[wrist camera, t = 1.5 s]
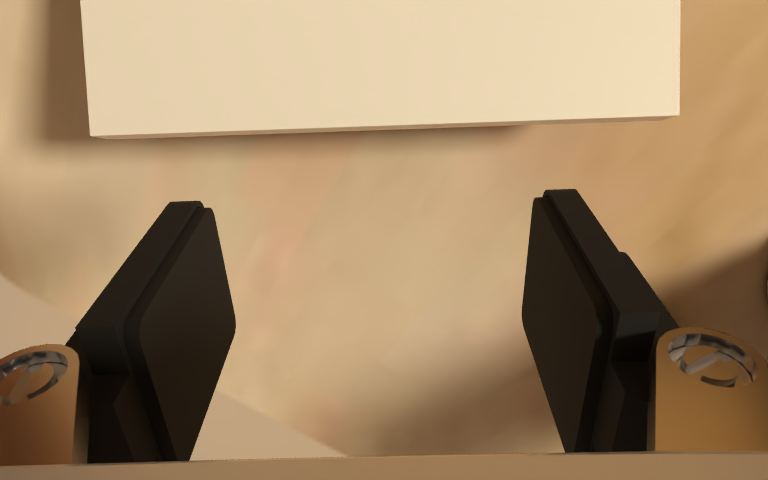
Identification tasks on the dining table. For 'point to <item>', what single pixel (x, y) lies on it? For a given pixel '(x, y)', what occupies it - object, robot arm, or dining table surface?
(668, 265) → the dining table surface
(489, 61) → the pale plank
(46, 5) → the dining table surface
